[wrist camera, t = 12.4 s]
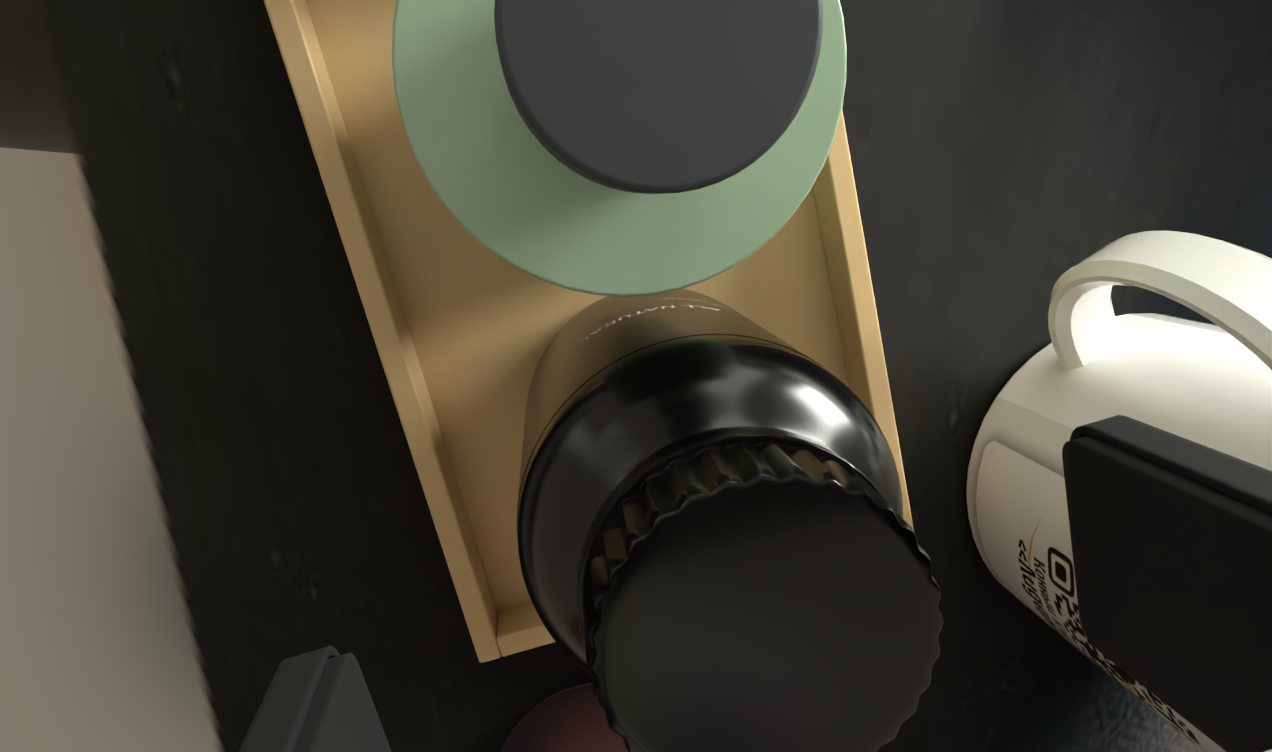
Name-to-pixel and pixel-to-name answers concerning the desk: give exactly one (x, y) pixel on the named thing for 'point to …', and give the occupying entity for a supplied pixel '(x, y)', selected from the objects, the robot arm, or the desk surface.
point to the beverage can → (565, 725)
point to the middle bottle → (620, 128)
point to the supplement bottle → (720, 535)
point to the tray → (521, 304)
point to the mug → (1121, 407)
